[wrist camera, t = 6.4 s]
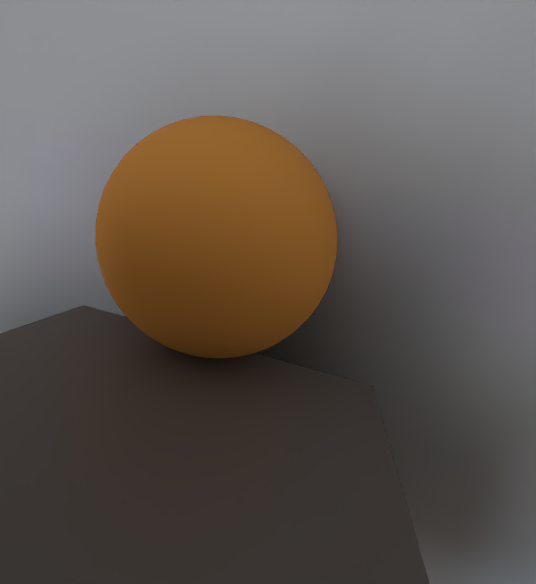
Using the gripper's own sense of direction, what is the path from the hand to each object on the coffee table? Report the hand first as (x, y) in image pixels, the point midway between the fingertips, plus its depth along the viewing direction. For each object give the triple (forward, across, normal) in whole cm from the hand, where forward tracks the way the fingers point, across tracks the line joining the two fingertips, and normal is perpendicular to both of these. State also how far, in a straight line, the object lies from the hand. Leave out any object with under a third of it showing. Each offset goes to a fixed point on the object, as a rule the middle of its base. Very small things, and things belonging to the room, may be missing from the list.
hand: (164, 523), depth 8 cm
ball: (+1, 0, -6) cm, 6 cm away
